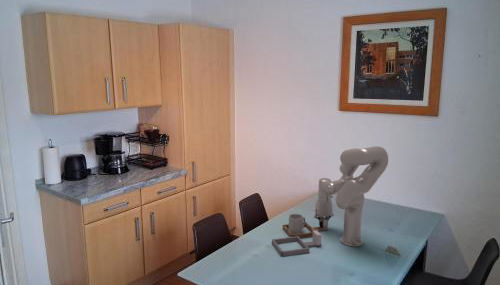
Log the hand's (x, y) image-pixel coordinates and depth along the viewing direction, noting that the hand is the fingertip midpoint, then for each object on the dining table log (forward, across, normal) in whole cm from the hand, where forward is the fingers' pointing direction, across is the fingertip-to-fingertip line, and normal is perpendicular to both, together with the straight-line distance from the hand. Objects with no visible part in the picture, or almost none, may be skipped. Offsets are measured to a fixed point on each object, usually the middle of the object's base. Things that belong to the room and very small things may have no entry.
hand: (323, 226), depth 231 cm
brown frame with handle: (+2, +12, 0) cm, 12 cm away
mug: (+2, +17, 0) cm, 17 cm away
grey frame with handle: (+2, +24, +18) cm, 30 cm away
